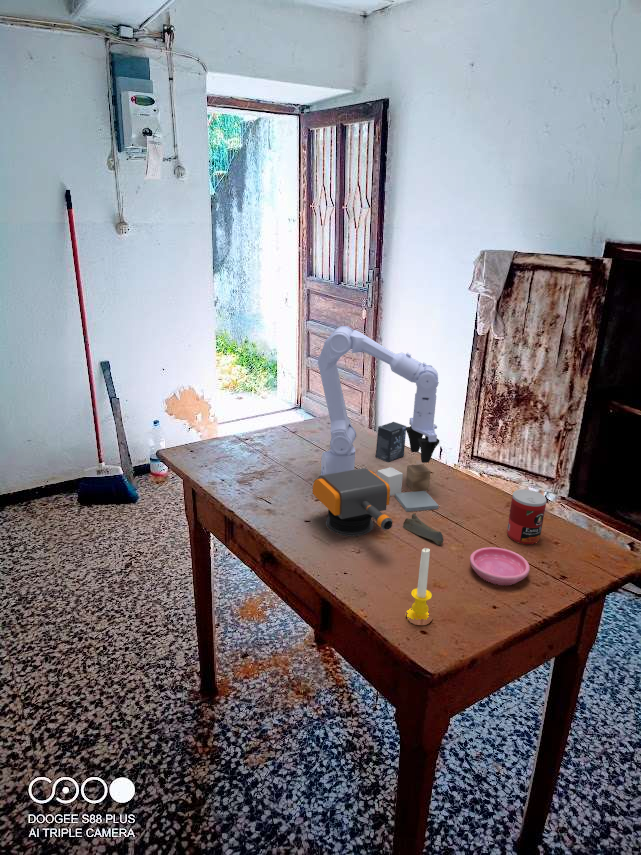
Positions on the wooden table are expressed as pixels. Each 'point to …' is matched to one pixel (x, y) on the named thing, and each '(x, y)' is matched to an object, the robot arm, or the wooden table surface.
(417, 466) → the walnut block
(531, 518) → the canned food
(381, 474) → the grey block
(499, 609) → the wooden table surface
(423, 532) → the bone
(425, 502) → the coaster
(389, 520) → the sander
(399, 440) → the box
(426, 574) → the candle
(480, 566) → the saucer
